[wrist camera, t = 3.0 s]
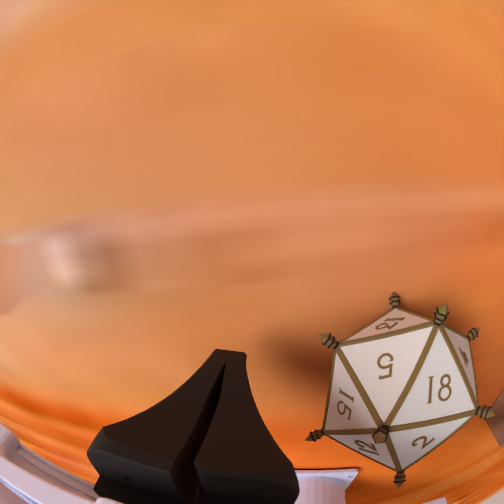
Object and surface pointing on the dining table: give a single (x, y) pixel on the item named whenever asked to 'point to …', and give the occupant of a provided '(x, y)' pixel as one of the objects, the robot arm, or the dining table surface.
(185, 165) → the dining table surface
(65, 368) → the dining table surface
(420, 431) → the game die
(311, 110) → the dining table surface
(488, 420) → the batten
